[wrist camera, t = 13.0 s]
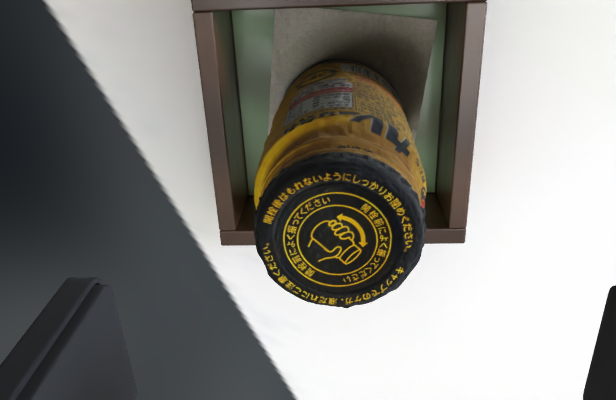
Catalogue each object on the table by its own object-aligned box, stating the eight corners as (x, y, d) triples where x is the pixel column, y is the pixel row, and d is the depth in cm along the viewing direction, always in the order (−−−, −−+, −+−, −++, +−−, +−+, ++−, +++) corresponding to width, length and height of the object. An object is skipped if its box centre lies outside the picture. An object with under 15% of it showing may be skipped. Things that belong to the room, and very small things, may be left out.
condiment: (265, 174, 29) (221, 320, 18) (275, 3, 25) (228, 57, 14) (405, 188, 29) (445, 343, 18) (436, 19, 25) (510, 85, 14)
